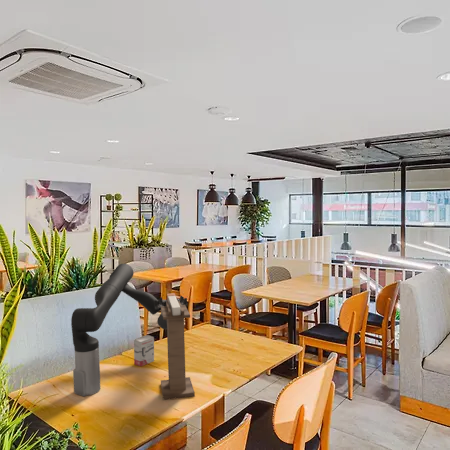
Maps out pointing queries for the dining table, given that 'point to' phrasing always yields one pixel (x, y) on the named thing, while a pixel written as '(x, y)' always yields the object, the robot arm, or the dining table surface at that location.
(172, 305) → the cream white long bar
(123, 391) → the dining table surface
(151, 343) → the ink box
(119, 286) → the robot arm
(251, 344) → the dining table surface
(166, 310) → the wooden pedestal post
